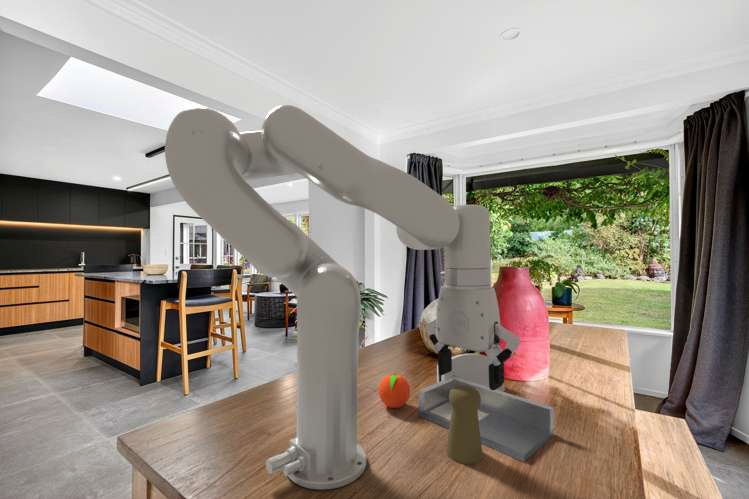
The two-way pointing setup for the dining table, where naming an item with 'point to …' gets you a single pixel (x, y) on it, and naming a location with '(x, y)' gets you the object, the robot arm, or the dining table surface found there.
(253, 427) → the dining table surface
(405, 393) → the clementine
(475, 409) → the olive pawn figure
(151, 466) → the dining table surface
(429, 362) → the dining table surface
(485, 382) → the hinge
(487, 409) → the tray
